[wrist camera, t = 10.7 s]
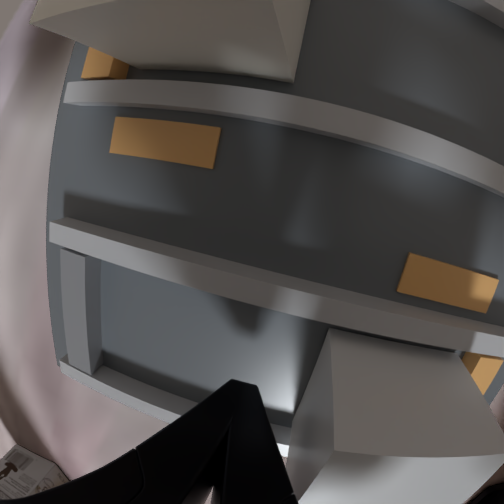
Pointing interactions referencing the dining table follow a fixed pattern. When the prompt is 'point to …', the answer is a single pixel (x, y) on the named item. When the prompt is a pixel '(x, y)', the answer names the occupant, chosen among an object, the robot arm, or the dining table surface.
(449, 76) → the switch panel
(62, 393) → the dining table surface
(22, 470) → the coffee box
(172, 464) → the robot arm
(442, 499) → the light grey cube
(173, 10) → the beige cube
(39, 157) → the dining table surface
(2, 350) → the dining table surface
